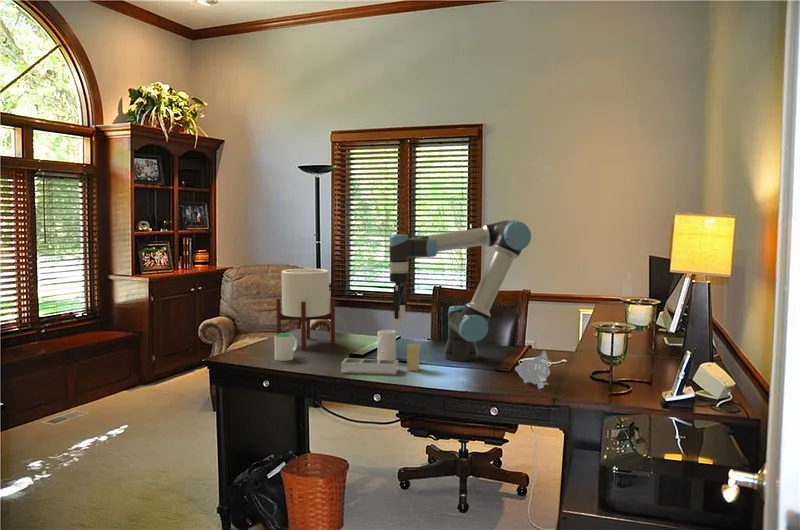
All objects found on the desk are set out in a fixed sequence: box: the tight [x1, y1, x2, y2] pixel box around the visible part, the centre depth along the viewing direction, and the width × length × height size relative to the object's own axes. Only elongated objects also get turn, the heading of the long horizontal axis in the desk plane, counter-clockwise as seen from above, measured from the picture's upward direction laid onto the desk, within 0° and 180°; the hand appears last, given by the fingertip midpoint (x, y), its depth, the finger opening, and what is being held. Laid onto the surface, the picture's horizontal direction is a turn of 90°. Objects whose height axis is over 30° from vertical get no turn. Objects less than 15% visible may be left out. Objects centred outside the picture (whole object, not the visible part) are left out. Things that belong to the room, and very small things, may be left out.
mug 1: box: [273, 332, 298, 362], centre depth 276 cm, size 12×8×10 cm
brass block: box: [406, 343, 420, 372], centre depth 257 cm, size 4×4×10 cm
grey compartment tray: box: [340, 357, 399, 376], centre depth 254 cm, size 22×8×4 cm, turn 83°
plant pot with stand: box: [275, 268, 336, 352], centre depth 303 cm, size 22×22×36 cm
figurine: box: [514, 350, 552, 390], centre depth 233 cm, size 10×15×14 cm
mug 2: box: [376, 329, 397, 360], centre depth 274 cm, size 12×8×12 cm
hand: (399, 323), depth 258 cm, fingers open, 13 cm apart
